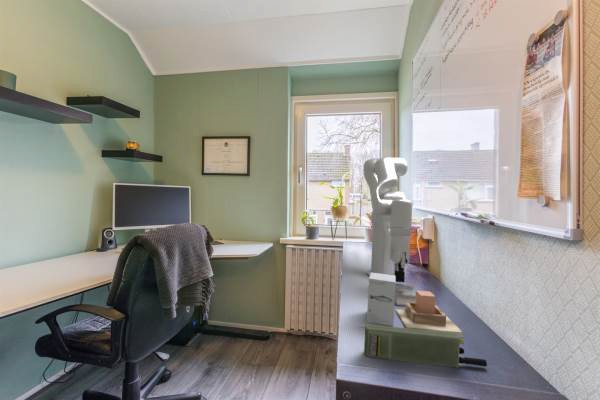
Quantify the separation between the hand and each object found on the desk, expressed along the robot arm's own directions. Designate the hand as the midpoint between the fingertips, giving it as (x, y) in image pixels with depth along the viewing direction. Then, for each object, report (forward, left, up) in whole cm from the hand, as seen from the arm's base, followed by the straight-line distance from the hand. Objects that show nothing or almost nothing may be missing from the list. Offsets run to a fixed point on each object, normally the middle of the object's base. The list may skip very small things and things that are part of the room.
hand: (399, 281), depth 98 cm
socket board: (+23, +2, -5) cm, 23 cm away
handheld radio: (+42, -5, -5) cm, 43 cm away
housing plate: (+8, 0, -5) cm, 9 cm away
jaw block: (+22, +2, -4) cm, 22 cm away
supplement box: (+23, -11, -5) cm, 26 cm away
